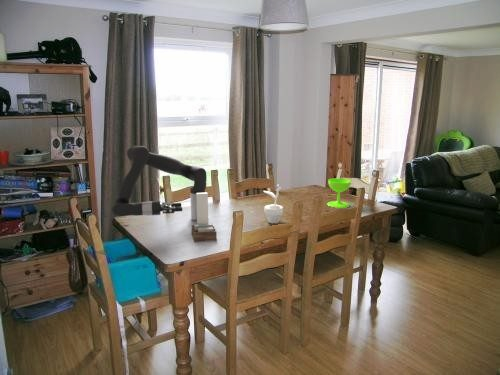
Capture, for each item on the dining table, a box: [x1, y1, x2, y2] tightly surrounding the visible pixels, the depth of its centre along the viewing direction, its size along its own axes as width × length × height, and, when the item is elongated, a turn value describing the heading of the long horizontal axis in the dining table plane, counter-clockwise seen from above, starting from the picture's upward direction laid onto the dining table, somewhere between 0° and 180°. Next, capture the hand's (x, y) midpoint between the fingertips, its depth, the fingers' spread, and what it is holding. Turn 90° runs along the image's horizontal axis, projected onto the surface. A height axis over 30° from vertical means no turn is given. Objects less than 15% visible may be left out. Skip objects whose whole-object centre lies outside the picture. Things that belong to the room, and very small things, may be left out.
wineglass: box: [326, 177, 352, 209], centre depth 276 cm, size 16×16×18 cm
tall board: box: [196, 191, 209, 225], centre depth 216 cm, size 2×6×22 cm, turn 104°
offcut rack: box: [191, 224, 217, 243], centre depth 215 cm, size 14×12×5 cm
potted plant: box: [263, 183, 284, 224], centre depth 238 cm, size 13×12×25 cm
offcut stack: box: [193, 223, 214, 232], centre depth 212 cm, size 7×10×5 cm, turn 104°
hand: (181, 206), depth 212 cm, fingers open, 8 cm apart
